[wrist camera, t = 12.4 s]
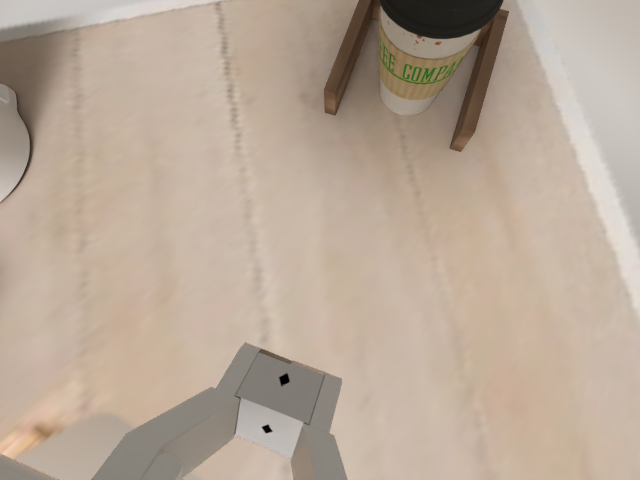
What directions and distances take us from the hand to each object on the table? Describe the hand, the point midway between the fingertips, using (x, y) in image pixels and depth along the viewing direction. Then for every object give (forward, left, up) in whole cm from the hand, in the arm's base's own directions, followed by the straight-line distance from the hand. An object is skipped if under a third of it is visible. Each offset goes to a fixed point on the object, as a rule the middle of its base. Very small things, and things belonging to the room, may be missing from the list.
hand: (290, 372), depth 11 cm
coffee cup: (0, +29, -25) cm, 38 cm away
